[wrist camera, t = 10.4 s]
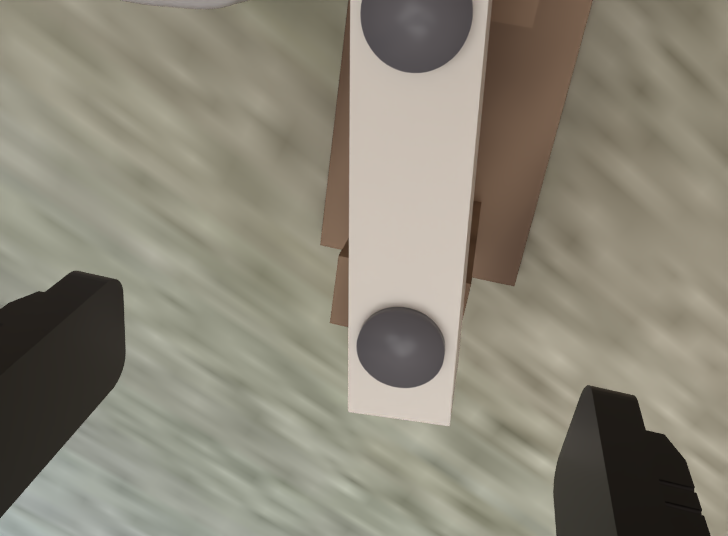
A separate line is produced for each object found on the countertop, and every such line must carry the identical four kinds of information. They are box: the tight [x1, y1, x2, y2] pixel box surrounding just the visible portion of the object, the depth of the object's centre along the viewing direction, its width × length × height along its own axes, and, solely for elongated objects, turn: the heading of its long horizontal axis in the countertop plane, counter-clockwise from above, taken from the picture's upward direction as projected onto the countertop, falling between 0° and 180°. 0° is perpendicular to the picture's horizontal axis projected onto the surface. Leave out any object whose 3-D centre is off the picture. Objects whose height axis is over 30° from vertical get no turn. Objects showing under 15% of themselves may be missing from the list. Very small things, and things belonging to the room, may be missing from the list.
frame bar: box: [348, 0, 492, 426], centre depth 21 cm, size 16×4×4 cm, turn 179°
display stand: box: [320, 0, 593, 327], centre depth 27 cm, size 10×17×10 cm, turn 172°
